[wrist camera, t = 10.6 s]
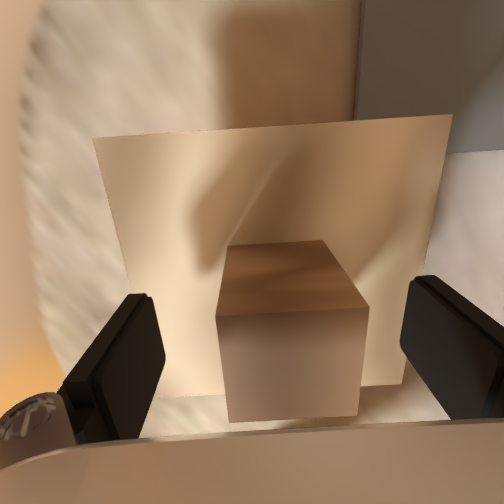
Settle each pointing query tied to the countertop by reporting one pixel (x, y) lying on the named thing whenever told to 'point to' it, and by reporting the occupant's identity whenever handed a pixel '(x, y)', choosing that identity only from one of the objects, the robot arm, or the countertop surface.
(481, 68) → the tray
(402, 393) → the countertop surface
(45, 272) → the countertop surface
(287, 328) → the lid
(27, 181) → the countertop surface
